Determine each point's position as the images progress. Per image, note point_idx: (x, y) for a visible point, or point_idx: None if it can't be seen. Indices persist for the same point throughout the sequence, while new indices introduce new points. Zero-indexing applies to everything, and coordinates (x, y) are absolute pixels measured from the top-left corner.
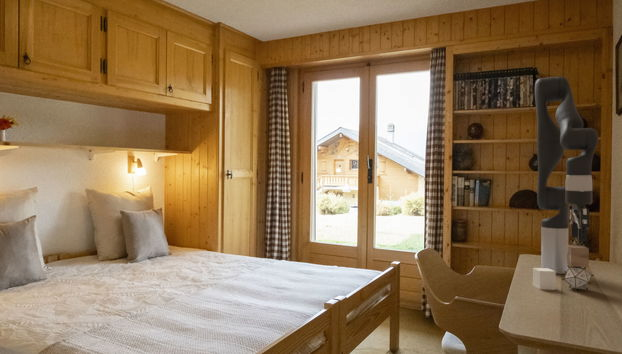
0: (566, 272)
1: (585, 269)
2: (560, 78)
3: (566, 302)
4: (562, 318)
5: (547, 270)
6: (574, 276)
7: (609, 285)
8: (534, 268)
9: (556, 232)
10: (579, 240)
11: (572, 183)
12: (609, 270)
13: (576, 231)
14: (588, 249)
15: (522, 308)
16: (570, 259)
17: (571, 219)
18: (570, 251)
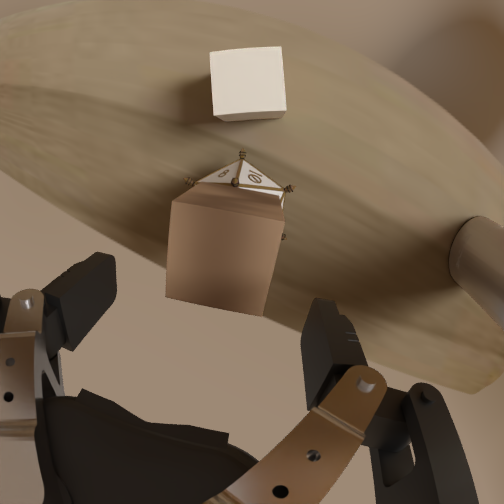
0: (240, 171)
1: None
2: None
3: (84, 110)
4: (6, 88)
5: (229, 87)
6: (184, 179)
7: None
8: (269, 48)
9: None
10: (100, 253)
11: None
12: (448, 376)
13: (309, 355)
14: (168, 292)
15: (47, 23)
16: (203, 187)
17: (298, 426)
18: (194, 197)
